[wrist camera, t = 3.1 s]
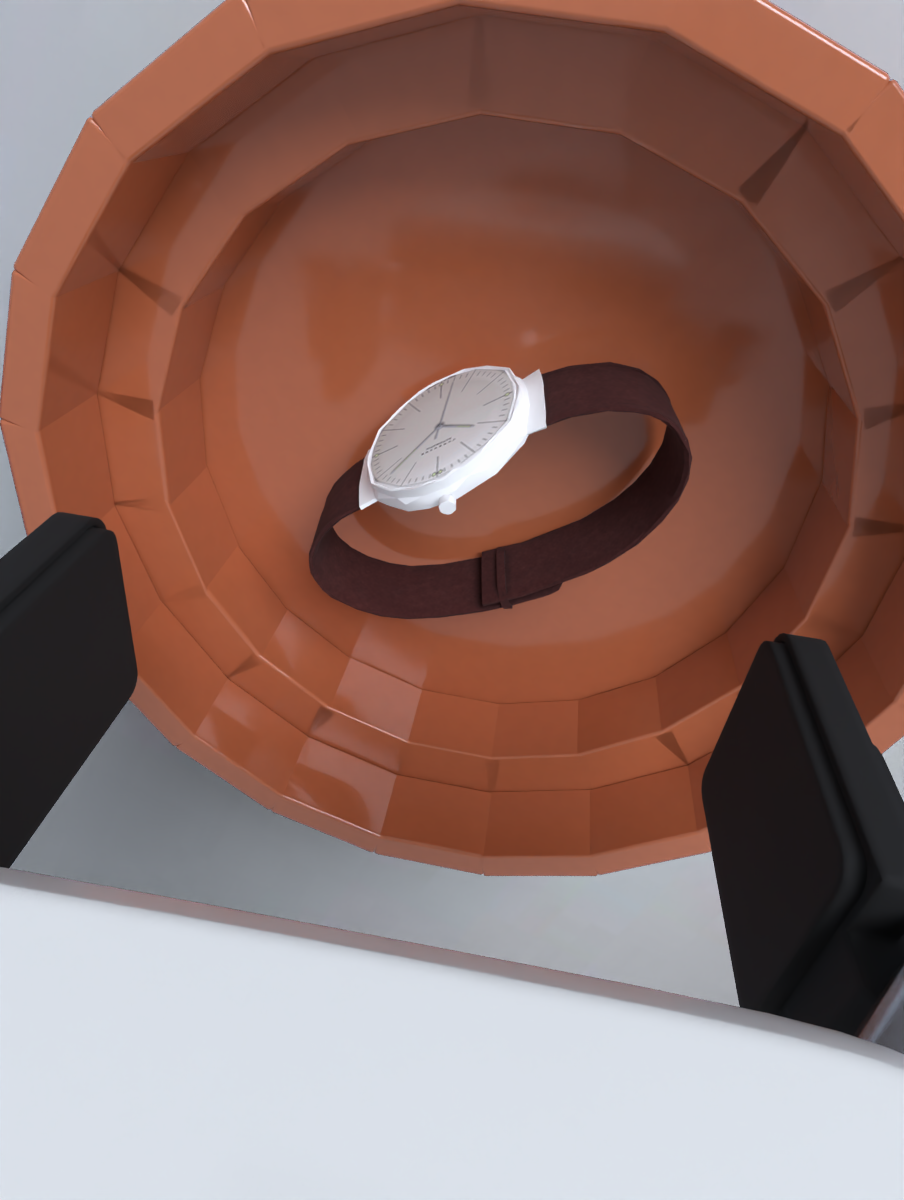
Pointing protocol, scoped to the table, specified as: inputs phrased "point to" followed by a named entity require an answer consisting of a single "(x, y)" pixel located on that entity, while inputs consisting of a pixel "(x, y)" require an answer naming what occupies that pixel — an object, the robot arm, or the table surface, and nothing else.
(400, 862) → the table surface
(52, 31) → the table surface
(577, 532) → the watch
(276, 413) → the bowl
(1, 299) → the table surface
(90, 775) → the table surface
